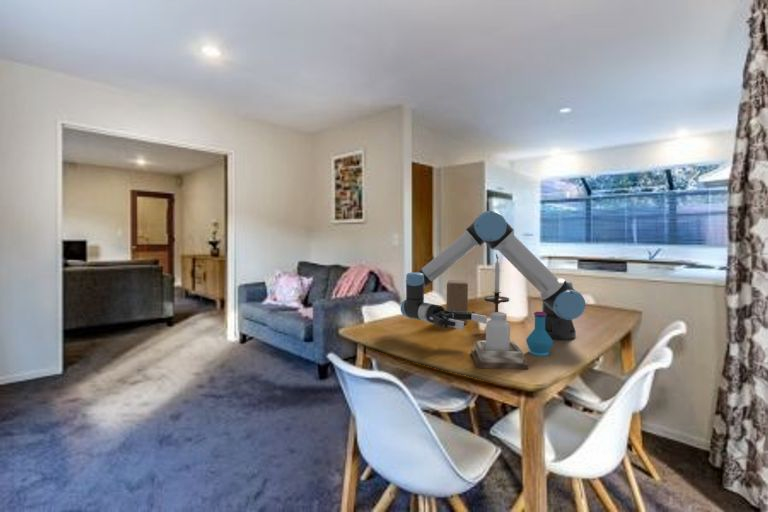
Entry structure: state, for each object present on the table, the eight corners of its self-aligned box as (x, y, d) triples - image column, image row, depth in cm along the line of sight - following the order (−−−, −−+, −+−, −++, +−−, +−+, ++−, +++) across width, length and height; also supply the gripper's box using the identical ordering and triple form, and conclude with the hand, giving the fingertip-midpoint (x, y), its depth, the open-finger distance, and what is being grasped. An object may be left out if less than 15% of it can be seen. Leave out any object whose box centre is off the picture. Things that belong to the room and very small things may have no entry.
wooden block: (467, 324, 189) (467, 283, 188) (446, 323, 191) (446, 282, 190) (467, 319, 199) (467, 280, 197) (447, 319, 201) (447, 280, 199)
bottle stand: (515, 353, 144) (515, 340, 143) (528, 369, 128) (528, 354, 127) (471, 352, 145) (471, 339, 145) (478, 367, 129) (478, 352, 129)
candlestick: (485, 331, 175) (486, 253, 173) (483, 326, 186) (484, 252, 183) (510, 332, 173) (511, 253, 171) (506, 326, 184) (508, 252, 182)
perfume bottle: (550, 358, 139) (551, 316, 138) (523, 354, 143) (524, 313, 142) (554, 351, 146) (555, 311, 145) (528, 347, 151) (529, 309, 150)
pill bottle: (512, 359, 132) (513, 315, 131) (488, 360, 132) (489, 315, 131) (505, 352, 140) (506, 311, 139) (483, 352, 140) (483, 311, 139)
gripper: (451, 318, 167) (494, 327, 151) (409, 327, 151) (452, 338, 135) (452, 300, 167) (495, 308, 151) (409, 308, 151) (453, 317, 135)
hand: (475, 322), depth 143 cm, fingers open, 13 cm apart
